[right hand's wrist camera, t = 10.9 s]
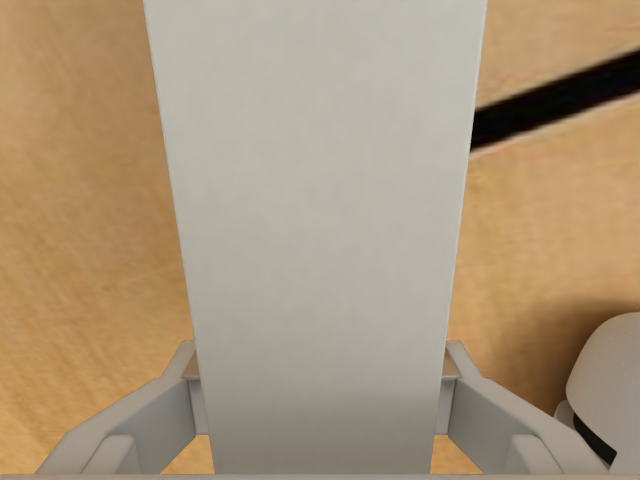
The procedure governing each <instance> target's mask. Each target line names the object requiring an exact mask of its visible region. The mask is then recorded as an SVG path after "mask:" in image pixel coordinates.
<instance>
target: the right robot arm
mask: <svg viewBox="0 0 640 480" xmlns="http://www.w3.org/2000/svg"><path fill="white" fill-rule="evenodd" d="M195 435H209V432H208V425H207V419H206V412H205V406H204V399H203V393H202V386H201V380H200V373H199V367H198V360H197V354H196V347H195V341H194V340H185V341H183V342H182V343H181V344H180V346H179V347H178V349H177V351H176V352H175V354H174V356H173V358H172V359H171V361H170V363H169V364H168V366H167V368H166V369H165V371H164V373H163V374H162V376H161V378H155V379H153V380H151V381H150V382H148V383H146V384H145V385H143V386H142V387H140V388H138V389H137V390H135V391H133V392H132V393H130V394H129V395H127V396H125V397H124V398H122V399H120V400H119V401H117V402H116V403H114V404H112V405H111V406H109V407H107V408H106V409H104V410H103V411H101V412H99V413H98V414H96V415H94V416H93V417H91V418H89V419H88V420H86V421H85V422H83V423H81V424H80V425H78V426H76V427H75V428H73V429H72V430H70V431H68V432H67V433H66V434H65V435H64V436H63V438H62V439H61V440H60V442H59V443H58V444H57V445H56V447H55V448H54V449H53V450H52V452H51V453H50V454H49V456H48V457H47V458H46V459H45V461H44V462H43V463H42V465H41V466H40V467H39V468H38V470H37V471H36V472H35V474H0V480H640V474H610V472H609V471H608V470H607V468H606V467H605V466H604V465H603V463H602V462H601V461H600V460H599V458H598V457H597V456H596V455H595V453H594V452H593V451H592V449H591V448H590V447H589V446H588V444H587V443H586V442H585V441H584V439H583V438H582V437H581V436H580V434H579V433H577V432H576V431H574V430H572V429H571V428H569V427H568V426H566V425H564V424H563V423H561V422H559V421H558V420H556V419H555V418H553V417H551V416H550V415H548V414H546V413H545V412H543V411H541V410H540V409H538V408H537V407H535V406H533V405H532V404H530V403H528V402H527V401H525V400H523V399H522V398H520V397H519V396H517V395H515V394H514V393H512V392H510V391H509V390H507V389H505V388H504V387H502V386H501V385H499V384H497V383H496V382H494V381H492V380H491V379H489V378H483V377H482V375H481V374H480V372H479V370H478V369H477V367H476V365H475V364H474V362H473V361H472V359H471V357H470V356H469V354H468V352H467V351H466V349H465V347H464V346H463V344H462V343H461V342H460V341H459V340H449V341H446V345H445V353H444V361H443V369H442V378H441V386H440V394H439V402H438V410H437V418H436V426H435V435H448V437H449V438H450V439H451V440H452V441H453V442H454V443H455V444H456V445H457V446H458V447H459V448H460V449H461V450H462V451H463V452H464V453H465V454H466V455H467V456H468V457H469V458H470V459H471V460H472V461H473V462H474V463H475V465H476V466H477V467H478V468H479V469H480V470H481V471H482V472H483V473H484V474H159V473H160V472H161V471H162V470H163V469H164V468H165V467H166V466H167V465H168V464H169V463H170V462H171V461H172V460H173V459H174V458H175V457H176V456H177V455H178V454H179V453H180V452H181V451H182V450H183V449H184V448H185V447H186V446H187V445H188V444H189V443H190V442H191V441H192V440H193V439H194V438H195Z"/></svg>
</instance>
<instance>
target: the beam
mask: <svg viewBox="0 0 640 480" xmlns="http://www.w3.org/2000/svg"><path fill="white" fill-rule="evenodd" d="M142 2H143V8H144V15H145V21H146V28H147V34H148V41H149V47H150V54H151V60H152V67H153V73H154V80H155V86H156V93H157V99H158V106H159V112H160V119H161V126H162V132H163V139H164V145H165V152H166V158H167V165H168V171H169V178H170V184H171V191H172V197H173V204H174V210H175V217H176V223H177V230H178V236H179V243H180V249H181V256H182V262H183V269H184V275H185V282H186V288H187V295H188V302H189V308H190V315H191V321H192V328H193V334H194V341H195V347H196V354H197V360H198V367H199V373H200V380H201V386H202V393H203V399H204V406H205V412H206V419H207V425H208V432H209V438H210V445H211V451H212V458H213V464H214V471H215V474H430V467H431V459H432V451H433V443H434V435H435V426H436V418H437V410H438V402H439V394H440V386H441V378H442V369H443V361H444V353H445V345H446V337H447V329H448V321H449V313H450V304H451V296H452V288H453V280H454V272H455V264H456V256H457V248H458V239H459V231H460V223H461V215H462V207H463V199H464V191H465V182H466V174H467V166H468V158H469V150H470V142H471V134H472V126H473V117H474V109H475V101H476V93H477V85H478V77H479V69H480V61H481V52H482V44H483V36H484V28H485V20H486V12H487V4H488V0H142Z"/></svg>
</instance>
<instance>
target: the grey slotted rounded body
mask: <svg viewBox="0 0 640 480" xmlns="http://www.w3.org/2000/svg"><path fill="white" fill-rule="evenodd" d="M566 395H567V400H564V401H562V402H560V403H559V404H558V406H557V409H556V411H555V414H554V417H553V418H555V419H556V420H558V421H559V422H561V423H563V424H564V425H566V426H568V427H569V428H571V429H572V430H574V431H576V432H577V433H579V434H580V436H581V437H582V438H583V439H584V441H585V442H586V443H587V444H588V446H589V447H590V448H591V449H592V451H593V452H594V453H595V455H596V456H597V457H598V458H599V460H600V461H601V462H602V463H603V465H604V466H605V467H606V468H607V470H608V471H609V472H610V474H640V312H633V313H625V314H622V315H618V316H615V317H613V318H611V319H609V320H607V321H606V322H604V323H603V324H602V325H600V326H599V327H598V328H597V329H596V330H595V331H594V332H593V334H592V335H591V336H590V338H589V339H588V341H587V342H586V344H585V346H584V347H583V349H582V351H581V353H580V354H579V357H578V359H577V361H576V363H575V365H574V367H573V370H572V372H571V374H570V377H569V379H568V381H567V385H566Z"/></svg>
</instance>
